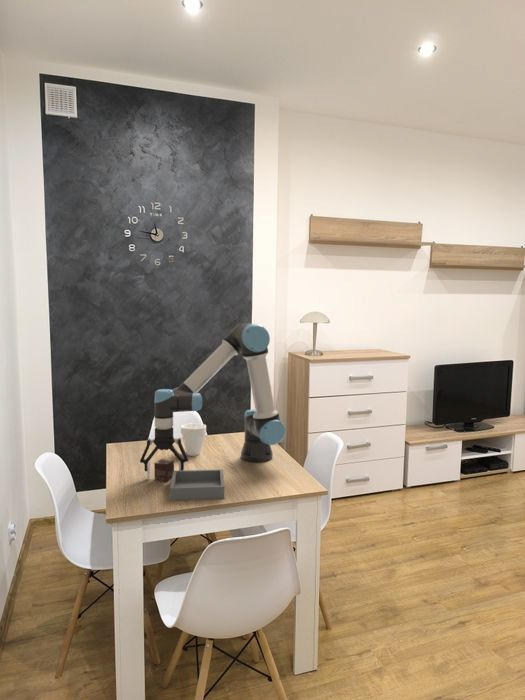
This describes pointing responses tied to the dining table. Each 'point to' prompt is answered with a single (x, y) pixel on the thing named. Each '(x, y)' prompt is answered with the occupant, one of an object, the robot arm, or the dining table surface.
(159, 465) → the box
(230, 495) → the dining table surface
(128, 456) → the dining table surface
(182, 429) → the cup
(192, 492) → the bin
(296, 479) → the dining table surface
